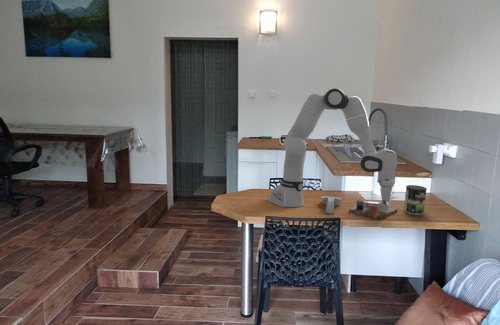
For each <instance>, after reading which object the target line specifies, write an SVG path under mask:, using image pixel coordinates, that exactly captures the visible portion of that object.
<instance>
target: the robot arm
mask: <svg viewBox="0 0 500 325" xmlns="http://www.w3.org/2000/svg"><path fill="white" fill-rule="evenodd" d="M325 110H332V111H337V110H341V111H342V113H343V115H344V118H345V120H346V124H347V127H348V128H349V130H350V132H351V133H353V134H354V135H355V136H356V137H357V138H358V139H359V142H360V145H361V147H362V150H363V157H362V158H361V160H360V167H361V169H362V170H363V171H364V172H366V173H377V181H376V182H377V183H378V184H379V186H380V189H379V190H380V197H381V203H383V202H389V201H390V199H391V196H392V190H393V187H394V185H395V184H396V175H397V173H396V169H397V166H398V155H397V153H396V151H394V150H392V149H389V148H382V149H380V150H377V149H376V148H375V144H374V141H373V138H372V135H371V131H370V123H369V117H368V114H367V111H366V108H365V105H364V103H363V102H362V100H361V98H360V97H359V96H355V95H353V96H348V95H347V93H345V92H344V91H343V90H342V89H340V88H337V87H336V88H331V89H329V90H328V91H326V92H325V94H324V95H323V94H322V95H321V94H317V93H312V94H310V95H309V96H308V97H307V99H306V100H305V102H304V103H303V105H302V107H301V109H300V110H299V114H298V115H297V117H296V119H295V121H294V122H293V124H292V127H291V128H290V130H289V132H288V133H287V135H286V136H285V138H284V141H283V149H284V150H285V154H284V155H285V157H284V162H283V174H282V176H283V177H282V178H281V179H279V182H280V184H279V185H277V186H276V187H274V188H273V189H272V190H271V193H270V196H268V197H266V201H267V202H270V203H272V204H274V205H276V206H279V207H283V208H285V207H287V208H288V207H289V208H299V207H302V206H303V207H304V205H305V201H304V195H303V188H304V166H305V161H306V160H305V159H306V155H307V154H306V153H307V147H308V146H307V143H306V141H307V140H308V139H309V137H310V135H311V134H312V133H313V132H314V129H315V128H316V126H317V124H318V122H319V119H320V118H321V115H322V114H323V113H324V111H325Z"/></svg>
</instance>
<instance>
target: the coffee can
mask: <svg viewBox="0 0 500 325" xmlns="http://www.w3.org/2000/svg"><path fill="white" fill-rule="evenodd" d="M405 188H406V189H405V198H404V206H403V212H404V213H405V214H409V215H413V216H421V215H424V212H425V211H424V210H425V202H426V195H427V187H424V186H421V185H416V184H408V185H405Z"/></svg>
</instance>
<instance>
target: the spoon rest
mask: <svg viewBox="0 0 500 325" xmlns="http://www.w3.org/2000/svg"><path fill="white" fill-rule="evenodd" d="M320 199H321V201H322V203H323V204H325V205H326V207H325V214H329V215H330V214H331V215H334V214H335V213H336V212H335V207H336V206H337V205H340V203H341V202H342V200H343V199H342V198H341V197H338V196H337V197H336V196H327V195H325V196H321V197H320Z"/></svg>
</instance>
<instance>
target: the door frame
mask: <svg viewBox="0 0 500 325" xmlns="http://www.w3.org/2000/svg"><path fill="white" fill-rule="evenodd" d="M348 212H349V213H353V214H355V215H360V216H363V217H366V218H370V219H373V220H378V221H379V220H381V219H382V220H383V219H384V218H386V217H389V216H391V215H393V214H395V213H397V212H398V208H394V207H391V206H388V210H381V209H380V206H376V205H372V204H370V205H369V206H368V208H359V207H356V206H354V207H351V208H349V209H348ZM392 213H393V214H392ZM390 214H391V215H390ZM388 215H389V216H388Z"/></svg>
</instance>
